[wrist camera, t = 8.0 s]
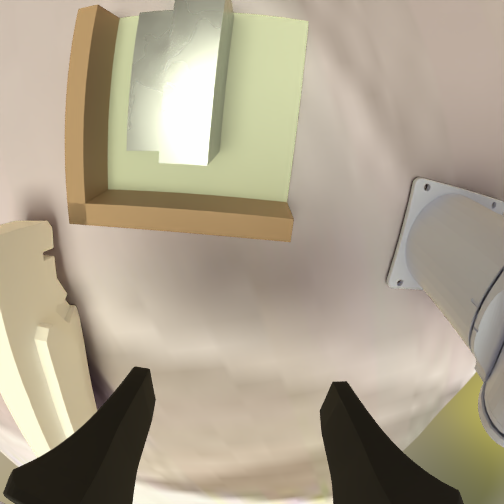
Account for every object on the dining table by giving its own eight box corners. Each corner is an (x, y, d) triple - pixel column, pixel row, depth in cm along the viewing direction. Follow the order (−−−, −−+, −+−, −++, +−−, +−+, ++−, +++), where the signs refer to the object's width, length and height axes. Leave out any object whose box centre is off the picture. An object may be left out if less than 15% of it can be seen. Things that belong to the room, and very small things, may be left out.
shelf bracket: (91, 419, 29) (52, 493, 17) (53, 209, 23) (-49, 236, 11) (131, 429, 29) (100, 510, 17) (101, 209, 23) (1, 238, 11)
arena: (306, 24, 13) (320, 4, 10) (283, 218, 18) (290, 242, 15) (106, 23, 13) (78, 9, 10) (96, 204, 18) (69, 223, 15)
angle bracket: (219, 151, 16) (207, 165, 12) (134, 148, 16) (94, 162, 11) (234, 16, 13) (227, -19, 8) (146, 18, 13) (111, -10, 8)
